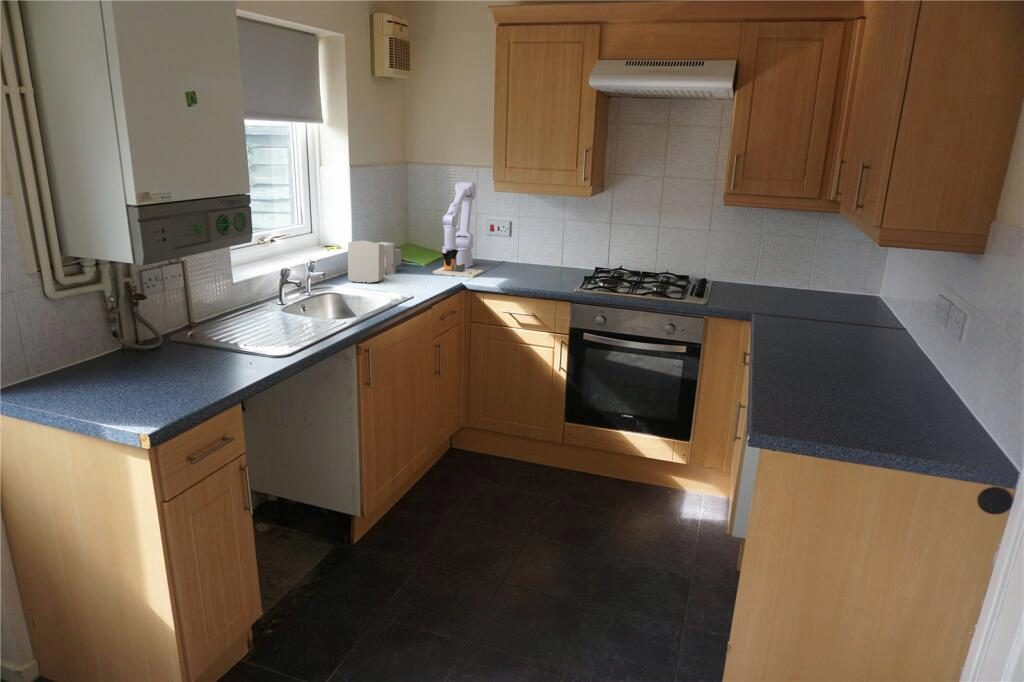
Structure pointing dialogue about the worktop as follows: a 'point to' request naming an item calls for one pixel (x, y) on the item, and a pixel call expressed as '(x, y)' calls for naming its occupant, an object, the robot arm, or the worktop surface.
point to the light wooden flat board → (458, 272)
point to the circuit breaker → (391, 257)
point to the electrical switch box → (365, 261)
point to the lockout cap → (450, 265)
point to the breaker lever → (459, 267)
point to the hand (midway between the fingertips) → (450, 264)
